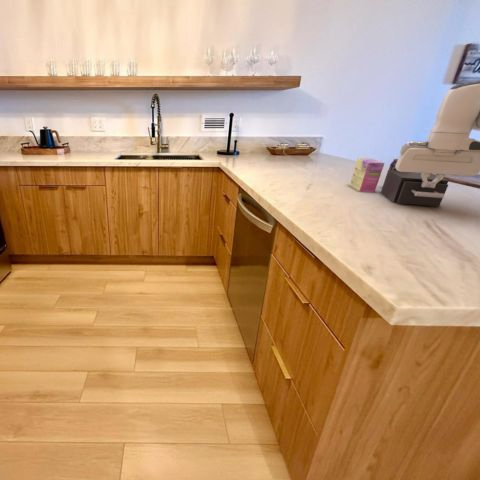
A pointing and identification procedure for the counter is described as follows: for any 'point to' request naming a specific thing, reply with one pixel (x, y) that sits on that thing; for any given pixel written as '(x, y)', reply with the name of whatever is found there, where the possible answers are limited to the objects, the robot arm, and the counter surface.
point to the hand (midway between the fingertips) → (427, 187)
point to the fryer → (401, 182)
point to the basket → (421, 193)
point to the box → (366, 174)
